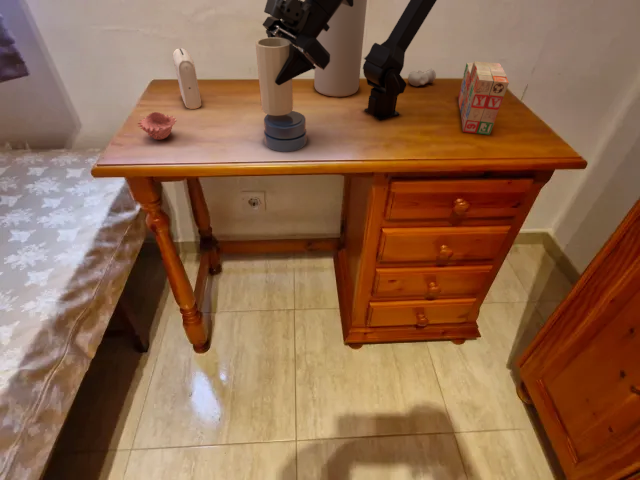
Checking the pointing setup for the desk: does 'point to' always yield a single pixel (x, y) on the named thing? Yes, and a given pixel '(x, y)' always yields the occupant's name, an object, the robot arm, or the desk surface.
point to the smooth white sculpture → (421, 77)
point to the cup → (273, 76)
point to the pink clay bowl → (157, 125)
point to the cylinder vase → (342, 51)
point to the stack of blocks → (481, 96)
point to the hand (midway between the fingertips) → (269, 78)
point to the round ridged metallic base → (285, 131)
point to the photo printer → (187, 78)
